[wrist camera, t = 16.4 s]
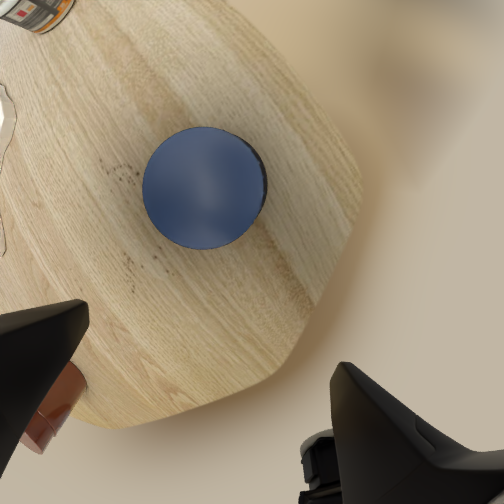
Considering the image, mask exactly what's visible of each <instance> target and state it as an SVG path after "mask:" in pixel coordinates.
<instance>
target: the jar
mask: <svg viewBox="0 0 504 504" xmlns="http://www.w3.org/2000/svg"><path fill="white" fill-rule="evenodd" d="M86 388H87V384H86V381H85V378H84V376H83V375H82V373H81V372H80V371H79V370H78V368H77V367H76V366H75V365H74V364H73V363H71V362H70V361H69V362H68V363H67V365H66V366H65V368H64V369H63V371H62V372H61V373H60V375H59V376H58V378H57V379H56V381H55V382H54V384H53V386H52V387H51V389H50V390H49V392H48V393H47V395H46V396H45V398H44V400H43V401H42V403H41V404H40V406H39V408H38V409H37V411H36V413H35V414H34V416H33V418H32V419H31V421H30V423H29V424H28V426H27V428H26V430H25V431H24V433H23V435H22V437H21V439H20V440H19V441H20V442H22V443H23V444H24V445H25V446H26V447H28V448H29V449H31V450H32V451H34V452H36V453H38V454H43V452H44V451H45V449H46V447H47V446H48V444H49V443H50V441H51V439H52V438H53V437H55V436H56V435H57V433H58V432H59V430H60V428H61V427H62V425H63V424H64V422H65V421H66V419H67V418H68V416H69V414H70V413H71V411H72V410H73V408H74V407H75V405H76V404H77V402H78V401H79V399H80V398H81V396H82V395H83V393H84V392H85V390H86Z"/></svg>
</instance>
